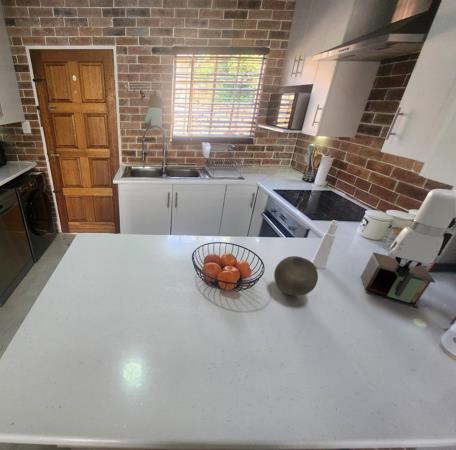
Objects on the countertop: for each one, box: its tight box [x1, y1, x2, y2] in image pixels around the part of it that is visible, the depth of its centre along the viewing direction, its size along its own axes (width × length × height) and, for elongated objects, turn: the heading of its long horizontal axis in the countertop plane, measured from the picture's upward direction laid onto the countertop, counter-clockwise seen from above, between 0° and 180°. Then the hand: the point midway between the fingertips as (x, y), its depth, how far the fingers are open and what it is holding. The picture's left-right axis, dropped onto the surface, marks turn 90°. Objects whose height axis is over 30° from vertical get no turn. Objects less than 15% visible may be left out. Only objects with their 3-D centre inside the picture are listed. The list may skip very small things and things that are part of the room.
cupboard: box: [360, 252, 436, 309], centre depth 94 cm, size 15×12×12 cm
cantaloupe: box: [273, 255, 319, 297], centre depth 90 cm, size 14×14×15 cm
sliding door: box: [387, 271, 424, 303], centre depth 87 cm, size 6×4×13 cm, turn 61°
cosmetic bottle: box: [310, 219, 340, 270], centre depth 106 cm, size 6×6×22 cm
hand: (399, 274), depth 86 cm, fingers closed
